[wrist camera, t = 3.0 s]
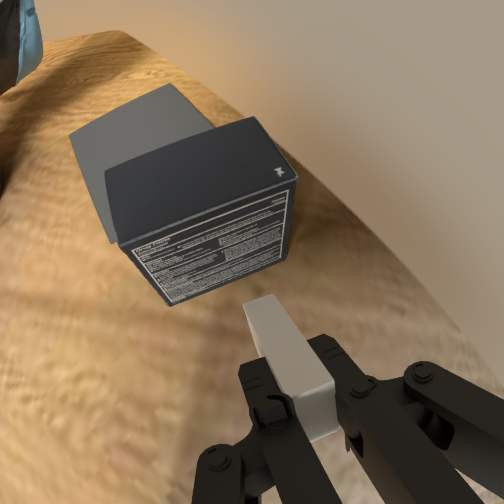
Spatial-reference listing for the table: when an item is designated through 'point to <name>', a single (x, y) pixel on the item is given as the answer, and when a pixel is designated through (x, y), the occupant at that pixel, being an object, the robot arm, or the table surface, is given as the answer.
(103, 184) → the mat
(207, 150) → the small box
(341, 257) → the table surface
